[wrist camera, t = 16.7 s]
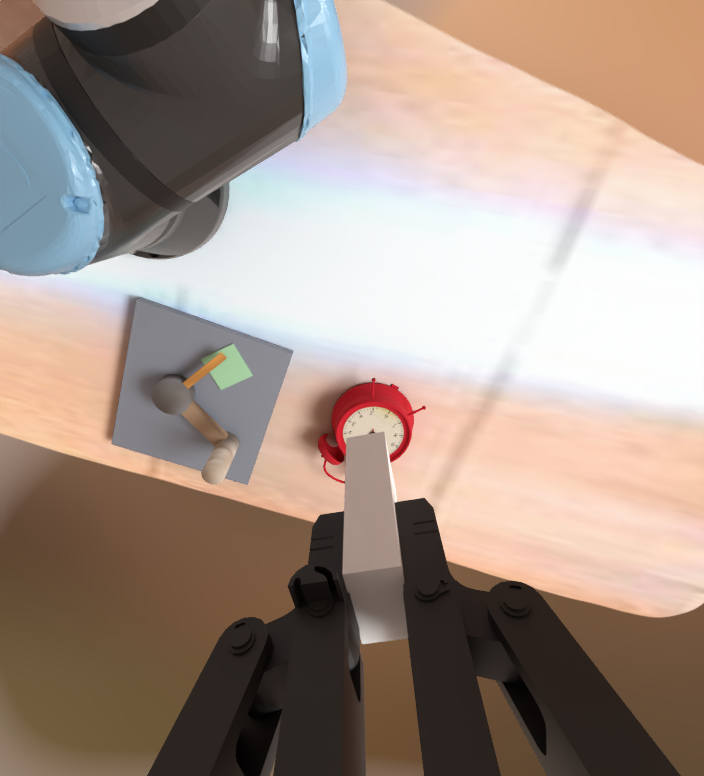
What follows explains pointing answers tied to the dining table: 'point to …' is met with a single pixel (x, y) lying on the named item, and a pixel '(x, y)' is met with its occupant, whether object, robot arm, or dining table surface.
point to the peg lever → (198, 417)
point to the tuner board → (183, 357)
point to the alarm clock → (370, 420)
